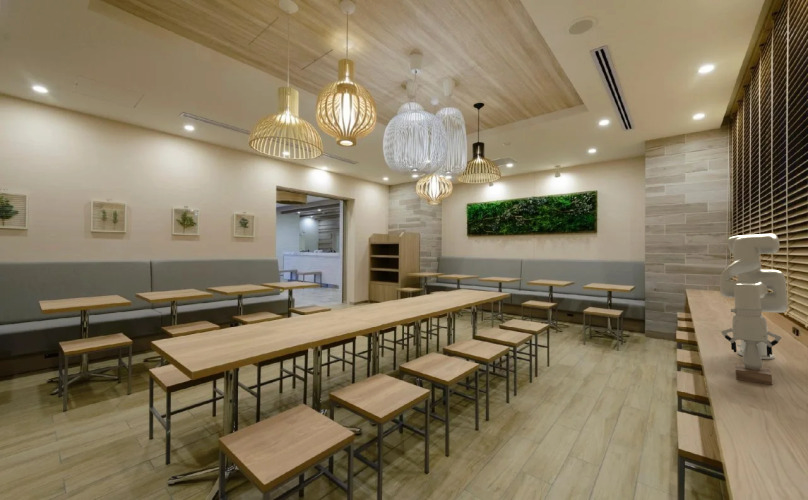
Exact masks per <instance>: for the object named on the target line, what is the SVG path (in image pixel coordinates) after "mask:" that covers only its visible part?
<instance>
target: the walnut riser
mask: <svg viewBox="0 0 808 500" xmlns="http://www.w3.org/2000/svg"><path fill="white" fill-rule="evenodd" d="M772 376H773V375H772V372H771V369H770V367H766V366H762V367H761V368H760V370H751V369H748V368H746V367H745V365H744V364H743V363H735V377H736V378H735V379H736V380H737V381H745V382H750V383H757V384H762V385H770V386H773V378H772Z"/></svg>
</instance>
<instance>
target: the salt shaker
mask: <svg viewBox="0 0 808 500" xmlns="http://www.w3.org/2000/svg"><path fill="white" fill-rule="evenodd" d="M744 342H746V346H745V351H744V356H742V364H744V365H745V367H746V368H748V369H751V370H760V368H761V367H764V366H763V365H764V364H763V361H762V360H763V359H761V357H760V354H759V351H758V348H757V344H758V343H759V342H756V341H746V340H744Z"/></svg>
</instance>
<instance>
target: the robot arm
mask: <svg viewBox="0 0 808 500" xmlns="http://www.w3.org/2000/svg"><path fill="white" fill-rule="evenodd" d="M726 244H727V247H728V249H729V252H730V253H731V255H732V257H733V259H732V260H733V263H730V264H729V265H728V266H727V267H726V268H724V269H723V271H722V272H721V273H720V277H719V290H720V293H721V295H722V296H723V297H725V298H731V299H733V298H734V307H733V308H730V312H731V313H734V314H733V316H732V323H731V324H732V327H730V328H727V329H724V330H721V332H720V333H721V334H722V336H723V337H724V338H725V339H726V340H727V341H728V342H730V346H731V347H730V349H731V350H732V351H733V353H735V354H736V353H737V354H738V355H740V356H742V357H743V356H744V351H745V346H746V342H744V340H746V341H756V342H759V343H758V344H757V348H758V351H759V354H760V357H761V360H772V359H775V354H773V348H772V347H774V346H775V345H777V344H778V343H780V342H779V341H780V340H782V336H781V335H778V334H776V333H773V332H772V331H769V329H768V321H767V319H766V317H765V316H763V315H762V312H763V313H764V312H765V313H779V314H780V313H785V312H787V311H788V308H789V304H788V303H789V302H788V301H789V300H788V292H787V282H786V277H785V274H784V273H783V272H782V271H781V270H777V269H763V268H762V260H761V258H760V257H761V256H760V255H762V254H763V255H764V254H765V255H766V254H767V255H768V254H769V255H771V254H776V253H778V252H779V250H780V247H781V245H780V240H779V237H778V235H777V234H775V233H761V234H760V233H759V234H743V235H734V236H731V237H729V238H727V241H726ZM736 276H737V280H730V279H732V278H734V277H736ZM768 290H770V291H772V292H768ZM729 333H732V337H731V336H730V335H728V334H729ZM769 336H770V337H773V338H774V339H773V340H772V341H770V340H769ZM737 340H740V344H739V343H738V344H737V342H736V341H737ZM737 347H738V348H740V349H739V350H737Z"/></svg>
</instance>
